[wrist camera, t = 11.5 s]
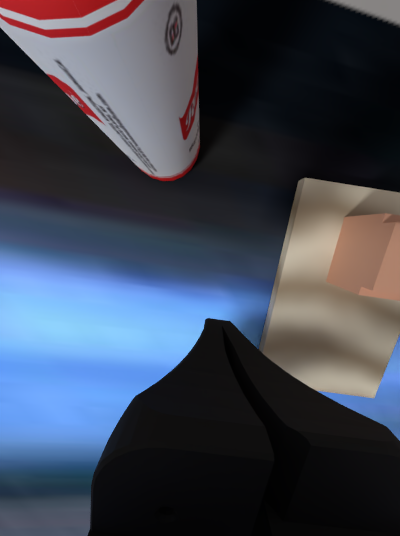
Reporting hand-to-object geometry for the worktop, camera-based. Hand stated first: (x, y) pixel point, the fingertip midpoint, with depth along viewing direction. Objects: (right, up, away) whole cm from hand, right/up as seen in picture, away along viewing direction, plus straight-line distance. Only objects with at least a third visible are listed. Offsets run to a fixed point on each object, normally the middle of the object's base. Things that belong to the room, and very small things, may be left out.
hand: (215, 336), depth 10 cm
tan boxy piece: (+15, +5, +8) cm, 18 cm away
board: (+14, 0, +10) cm, 18 cm away
